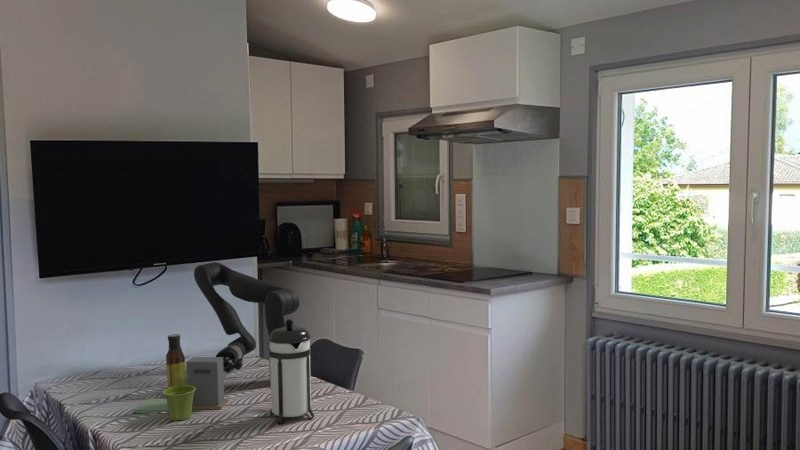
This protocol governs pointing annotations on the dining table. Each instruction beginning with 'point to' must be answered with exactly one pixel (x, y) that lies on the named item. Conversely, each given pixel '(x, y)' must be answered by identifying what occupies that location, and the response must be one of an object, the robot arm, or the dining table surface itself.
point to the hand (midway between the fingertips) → (214, 369)
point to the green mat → (153, 406)
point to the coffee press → (290, 372)
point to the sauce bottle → (175, 363)
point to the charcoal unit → (206, 382)
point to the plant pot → (179, 401)
